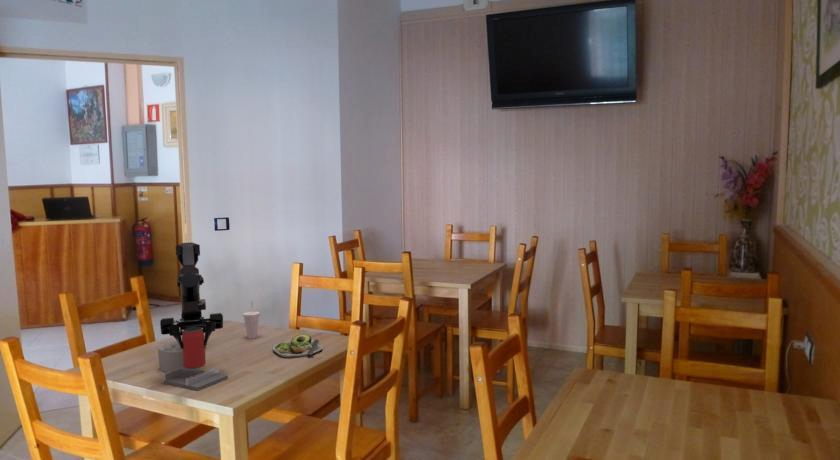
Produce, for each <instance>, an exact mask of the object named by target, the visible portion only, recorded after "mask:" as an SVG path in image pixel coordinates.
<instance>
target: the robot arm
mask: <svg viewBox="0 0 840 460" xmlns="http://www.w3.org/2000/svg"><path fill="white" fill-rule="evenodd" d="M200 246H201V245H200V244H197V243H195V242H182V243H180V244H177V245H176V246H175V257H176V258H177V259H178V260H177V261H178V263H179V265H180V266H181V267H182V268H180V269H179V271H178V272H179V276H177V280H176V282H177V283H176V284H177V285H176V286H177V288H179V289H180V299H181V318H179V321H178V320H177V319H176V320H174V319H175V318H174V317H166V318H165V317H164V318H161V319H160V321H159V322H160V324H159V325H160V334H161V335H169V336H170V337H174V339H175V341H176V340H177V342H178V344H179V345H180V347H181V349H183V346H182V334H183V332H184V331H183V330H184V329H186V328H190V327H201V328H202V331H203V333H204V341H205V349H207V346H208V345H207V344H208V341H209V339H210V336H211V334H212V333H213V332H215V331H216V330H221V329H223V327H224V315H223V313H221V312H217V313H210V314H209V317H208V318H205V317H204V316H202V311H204V310H205V311H206V310H207V305H206V298H204V299H201V297H200V295H201V294H200V288H201V286H202V285H203V284H204V283H205V282H204V281H205V280H204V277H203V276H202V274H200V269H199V267H197V266H196V265H197V264H198V262H199V256H201V247H200Z"/></svg>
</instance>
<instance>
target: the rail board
mask: <svg viewBox="0 0 840 460" xmlns="http://www.w3.org/2000/svg"><path fill="white" fill-rule="evenodd" d="M219 371H220V370H219V367H217V366H216V367H213V368H209V369H208V370H202V369H199V368H196V369H188V368H185V367H181V368H178V369H175V370H173V371H170V372H164V373H163V374H162V377H163V378H162V379H163V384H165V385H170V386H174V387H179V388H184V389H189V390H192V391H197V392H199V391H200V390H202V389H205V388H206V389H207V388H208V387H211V386H213V385H215V384H218V383H221V382H222V381H223V382H224V381H225V380H228V379H229V375H227V374H222V373H219Z"/></svg>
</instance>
